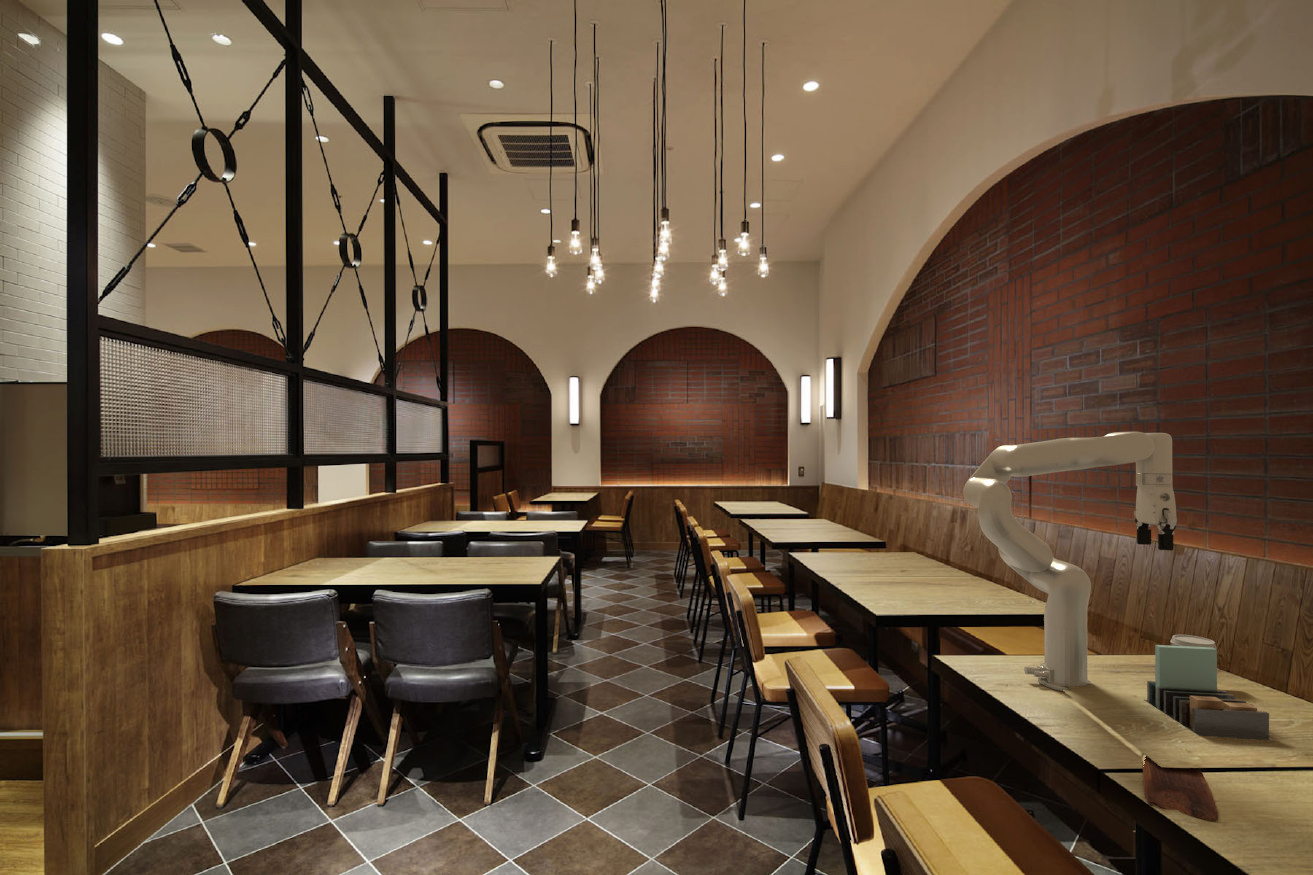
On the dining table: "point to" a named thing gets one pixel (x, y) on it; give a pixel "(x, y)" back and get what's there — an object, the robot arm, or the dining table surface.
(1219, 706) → the tall walnut offcut
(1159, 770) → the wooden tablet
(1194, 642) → the disposable coffee cup
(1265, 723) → the rack
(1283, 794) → the dining table surface
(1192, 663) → the teal sheet
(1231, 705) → the short walnut offcut
